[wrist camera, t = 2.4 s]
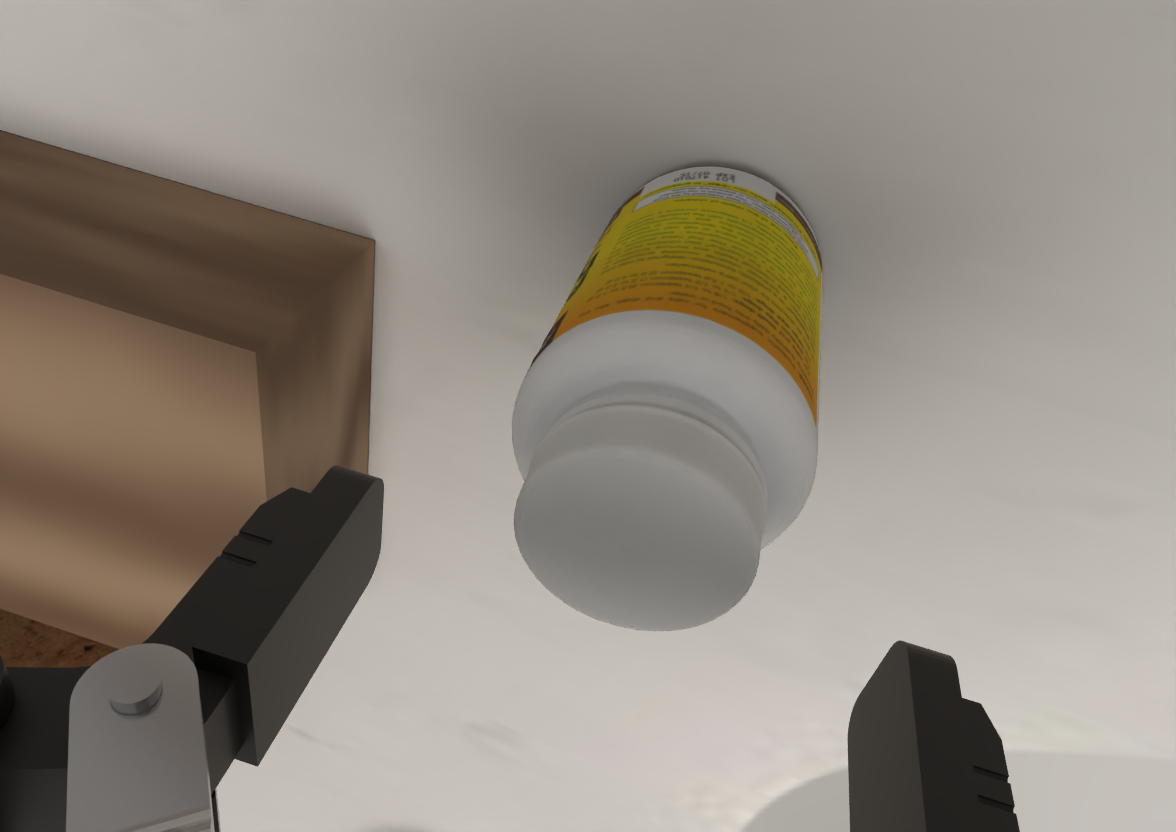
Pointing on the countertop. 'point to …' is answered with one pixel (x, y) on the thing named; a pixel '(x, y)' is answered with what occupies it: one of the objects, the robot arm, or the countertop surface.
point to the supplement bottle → (674, 404)
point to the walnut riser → (160, 381)
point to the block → (45, 645)
